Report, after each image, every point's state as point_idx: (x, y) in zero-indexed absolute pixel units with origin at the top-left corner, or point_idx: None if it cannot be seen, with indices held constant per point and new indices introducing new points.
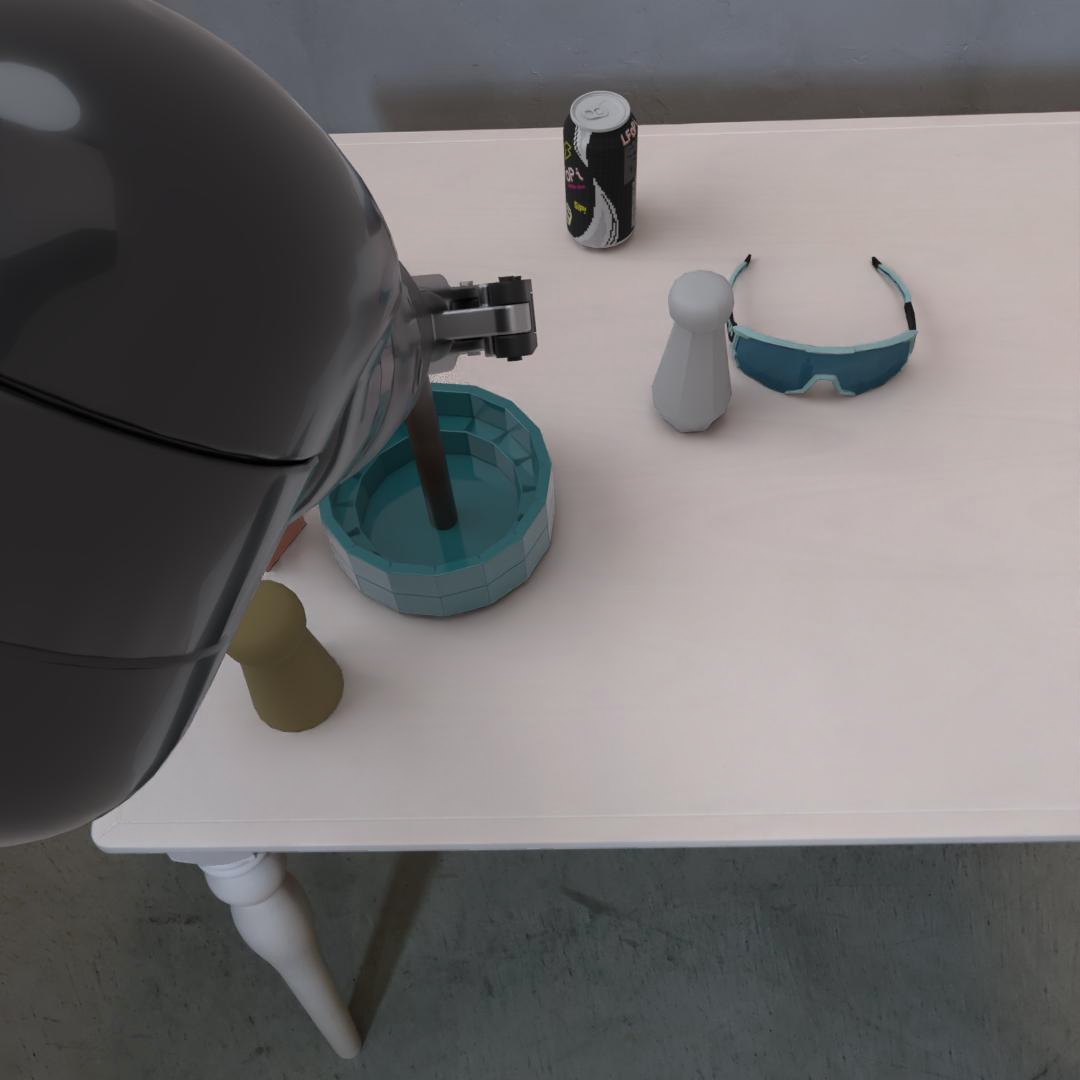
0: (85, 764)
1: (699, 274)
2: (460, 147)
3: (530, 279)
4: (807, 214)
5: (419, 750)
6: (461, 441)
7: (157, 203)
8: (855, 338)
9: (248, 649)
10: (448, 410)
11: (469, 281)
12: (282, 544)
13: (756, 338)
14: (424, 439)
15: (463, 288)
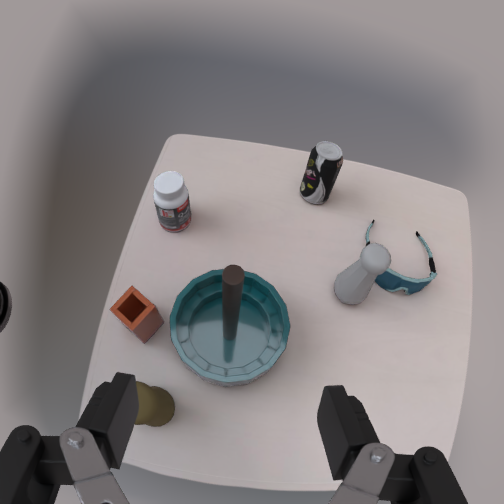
0: None
1: (377, 246)
2: (256, 146)
3: (449, 467)
4: (393, 206)
5: (207, 446)
6: (243, 296)
7: None
8: (410, 267)
9: None
10: None
11: (384, 456)
12: (152, 332)
13: None
14: (231, 318)
15: (384, 481)
